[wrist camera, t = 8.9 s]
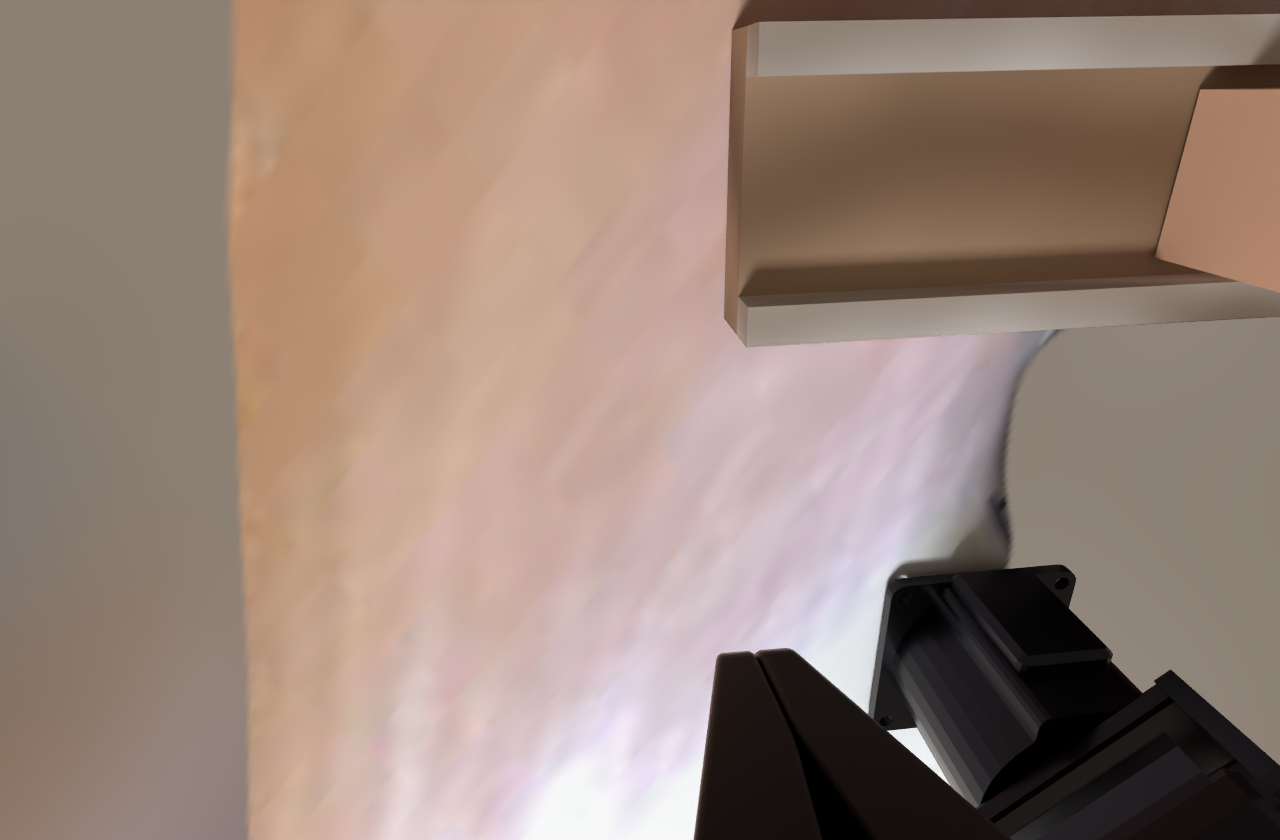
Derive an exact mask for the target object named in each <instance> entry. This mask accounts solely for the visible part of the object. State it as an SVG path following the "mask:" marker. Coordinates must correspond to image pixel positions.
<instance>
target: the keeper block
mask: <svg viewBox="0 0 1280 840" xmlns="http://www.w3.org/2000/svg"><path fill="white" fill-rule="evenodd" d="M1155 258H1158V259H1161V260H1165V261H1168V262H1172V263H1175V264H1179V265H1183V266H1186V267H1190V268H1193V269H1197V270H1201V271H1204V272H1208V273H1211V274H1215V275H1218V276H1222V277H1226V278H1229V279H1233V280H1236V281H1240V282H1244V283H1247V284H1251V285H1254V286H1258V287H1261V288H1265V289H1269V290H1272V291H1276V292H1279V293H1280V87H1278V88H1239V89H1200V92H1199V96H1198V99H1197V103H1196V107H1195V111H1194V114H1193V118H1192V122H1191V125H1190V129H1189V133H1188V136H1187V140H1186V144H1185V147H1184V151H1183V155H1182V159H1181V162H1180V166H1179V170H1178V173H1177V177H1176V181H1175V184H1174V188H1173V192H1172V195H1171V199H1170V203H1169V207H1168V210H1167V214H1166V218H1165V221H1164V225H1163V229H1162V232H1161V236H1160V240H1159V243H1158V247H1157V251H1156V255H1155Z"/></svg>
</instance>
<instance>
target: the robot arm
mask: <svg viewBox="0 0 1280 840" xmlns="http://www.w3.org/2000/svg"><path fill="white" fill-rule="evenodd" d="M1058 579H1059V580H1058ZM1057 580H1058V581H1057ZM1056 581H1057V582H1056ZM1075 583H1076V578H1075V575H1074V574H1073V573H1072V572H1071V571H1070V570H1069V569H1068V568H1066V567H1065V566H1063V565H1049V566H1036V567H1027V568H1026V567H1025V568H1014V569H1003V570H992V571H980V572H969V573H958V574H947V575H936V576H925V577H914V578H902V579H898V580H896V581H894V582H892V583H891V584H890V585H889V587H888V588H887V591H886V597H885V603H884V610H883V617H882V624H881V631H880V638H879V644H878V651H877V658H876V665H875V672H874V679H873V685H872V692H871V699H870V706H869V713H868V714H867V713H866V712H864V711H863V710H862V709H861V708H860V707H859V706H858V705H856V704H855V703H854V702H853V701H852V700H851V699H850V698H848V697H847V696H846V695H845V694H844V693H843V692H841V691H840V690H839V689H838V688H837V687H836V686H835V685H833V684H832V683H831V682H830V681H829V680H828V679H827V678H825V677H824V676H823V675H822V674H821V673H820V672H818V671H817V670H816V669H815V668H814V667H813V666H812V665H810V664H809V663H808V662H807V661H806V660H805V659H804V658H802V657H801V656H800V655H799V654H798V653H797V652H795V651H794V650H791V649H788V648H782V649H769V650H760V651H758V652H757V653H755V655H754V654H753V653H751V652H750V651H744V652H731V653H722V654H719V655H718V657H717V659H716V666H715V674H714V682H713V690H712V698H711V706H710V714H709V722H708V730H707V738H706V746H705V754H704V761H703V769H702V777H701V785H700V793H699V801H698V809H697V817H696V825H695V833H694V840H1280V766H1279V765H1278V764H1277V763H1276V762H1275V761H1274V760H1272V758H1270V757H1269V756H1268V755H1267V754H1266V753H1265V752H1264V751H1262V750H1261V749H1260V748H1259V747H1258V746H1257V745H1256V744H1255V743H1253V742H1252V741H1251V740H1250V739H1249V738H1248V737H1247V736H1245V735H1244V734H1243V733H1242V732H1241V731H1240V730H1239V729H1237V728H1236V727H1235V726H1234V725H1233V724H1232V723H1231V722H1230V721H1228V720H1227V719H1226V718H1225V717H1224V716H1223V715H1222V714H1220V713H1219V712H1218V711H1217V710H1216V709H1215V708H1214V707H1212V706H1211V705H1210V704H1209V703H1208V702H1207V701H1206V700H1205V699H1203V698H1202V697H1201V696H1200V695H1199V694H1198V693H1196V691H1194V690H1193V689H1192V688H1191V687H1189V685H1188V684H1186V683H1185V682H1184V681H1183V680H1182V679H1181V678H1180V677H1178V676H1177V675H1176V674H1175V673H1174V672H1173V671H1172V670H1169V671H1168V672H1166V673H1165V674H1163V675H1162V676H1160V677H1159V678H1157V679H1156V680H1154V682H1155V683H1156V685H1154V686H1153V687H1151V688H1150V689H1148V690H1147V691H1145V692H1144V693H1142V692H1141V691H1140V690H1139V689H1138V688H1137V687H1136V686H1135V685H1134V684H1133V683H1132V682H1131V681H1130V680H1129V679H1128V678H1127V677H1126V676H1125V675H1124V674H1123V673H1122V672H1121V671H1120V670H1119V669H1118V668H1117V667H1116V666H1115V665H1114V664H1113V663H1112V662H1111V659H1112V656H1113V653H1112V652H1111V650H1110V649H1109V648H1108V647H1107V646H1106V645H1105V644H1104V643H1103V642H1102V641H1101V640H1100V639H1099V638H1098V637H1097V636H1096V635H1095V634H1094V633H1093V632H1092V631H1091V630H1090V629H1089V628H1088V627H1087V626H1085V624H1084V623H1083V622H1082V621H1081V620H1080V619H1079V618H1078V617H1077V616H1076V615H1075V614H1074V613H1073V612H1072V611H1071V610H1070V609H1069V605H1070V601H1071V597H1072V594H1073V590H1074V586H1075ZM905 592H907V593H906V594H905V595H904V596H901V597H899V596H900V595H901V594H902V593H905ZM916 727H917V728H918V730H919V732H920V733H921V735H922V737H923V739H924V740H925V742H926V744H927V746H928V747H929V749H930V751H931V753H932V754H933V756H934V758H935V760H936V761H937V763H938V765H939V766H940V768H941V770H942V772H943V773H944V775H945V777H946V779H947V780H948V782H949V784H950V785H948V784H947V783H946V782H945V781H944V780H943V779H942V778H940V777H939V776H938V775H937V774H936V773H935V772H934V771H932V770H931V769H930V768H929V767H928V766H927V765H925V764H924V763H923V762H922V761H921V760H920V759H919V758H917V757H916V756H915V755H914V754H913V753H912V752H911V751H909V750H908V749H907V748H906V747H905V746H904V745H902V744H901V743H900V742H899V741H898V740H897V739H896V738H894V737H893V736H892V735H891V734H890V733H889V732H887V731H889V730H898V729H907V728H916Z"/></svg>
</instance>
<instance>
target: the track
mask: <svg viewBox="0 0 1280 840" xmlns="http://www.w3.org/2000/svg"><path fill="white" fill-rule="evenodd" d="M1278 87H1280V14H1234V15H1169V16H1104V17H1038V18H973V19H907V20H842V21H776V22H757V23H754V24H751V25H748V26H745V27H742V28H739V29H735V30H732V51H731V87H730V124H729V160H728V196H727V233H726V269H725V306H724V319H725V320H726V321H727V323H728V324H729V325H730V327H731V328H732V329H733V330H734V332H735V333H736V334H737V336H738V337H739V338H740V340H741V341H742V342H743V344H744V345H745V346H746V347H761V346H778V345H795V344H813V343H830V342H847V341H865V340H882V339H899V338H916V337H934V336H951V335H968V334H986V333H1003V332H1020V331H1038V330H1055V329H1072V328H1089V327H1107V326H1123V325H1140V324H1159V323H1175V322H1194V321H1211V320H1228V319H1246V318H1263V317H1280V293H1279V292H1276V291H1272V290H1269V289H1265V288H1261V287H1258V286H1254V285H1251V284H1247V283H1244V282H1240V281H1236V280H1233V279H1229V278H1226V277H1222V276H1218V275H1215V274H1211V273H1208V272H1204V271H1201V270H1197V269H1193V268H1190V267H1186V266H1183V265H1179V264H1175V263H1172V262H1168V261H1165V260H1161V259H1158V258H1155V255H1156V251H1157V247H1158V243H1159V240H1160V236H1161V232H1162V229H1163V225H1164V221H1165V218H1166V214H1167V210H1168V207H1169V203H1170V199H1171V195H1172V192H1173V188H1174V184H1175V181H1176V177H1177V173H1178V170H1179V166H1180V162H1181V159H1182V155H1183V151H1184V147H1185V144H1186V140H1187V136H1188V133H1189V129H1190V125H1191V122H1192V118H1193V114H1194V111H1195V107H1196V103H1197V99H1198V96H1199V92H1200V89H1239V88H1278Z"/></svg>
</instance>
